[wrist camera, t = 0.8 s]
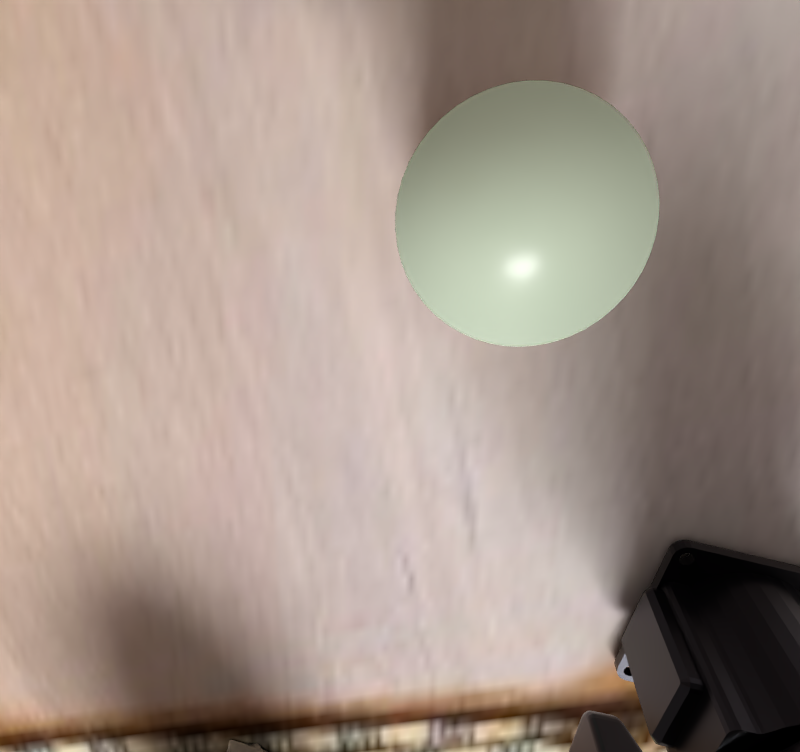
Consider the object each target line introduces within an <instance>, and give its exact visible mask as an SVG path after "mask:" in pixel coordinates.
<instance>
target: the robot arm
mask: <svg viewBox="0 0 800 752" xmlns="http://www.w3.org/2000/svg"><path fill="white" fill-rule="evenodd" d="M685 553H690V554H689V555H688V556H687V557H680V556H681V555H682V554H685ZM621 642H622V646H621V648H620V651H619V653H618V655H617V657H616V659H615V667H616V671H617V674H618V676H619V677H620V678H622V679H624V680H627V681H631V682H634V684H635V687H636V691H637V694H638V697H639V700H640V704H641V707H642V710H643V713H644V717H645V720H646V723H647V726H648V730H649V733H650V735H651V737H652V738H653V740H654V742H655V743H656V744H658V745H662V746H666V748H667V751H668V752H800V567H799V566H795V565H790V564H786V563H782V562H778V561H773V560H769V559H765V558H761V557H756V556H752V555H748V554H744V553H740V552H735V551H731V550H727V549H723V548H718V547H714V546H710V545H706V544H701V543H697V542H693V541H689V540H681V541H677V542H675V543H673V544H672V545H671V546H670V548H669V549H668V551H667V553H666V556H665V558H664V560H663V562H662V564H661V566H660V568H659V570H658V572H657V574H656V576H655V578H654V580H653V582H652V584H651V587H650V588H648V589H647V590H646V591H645V592H644V593H643V595H642V597H641V599H640V601H639V603H638V605H637V607H636V610H635V612H634V614H633V616H632V618H631V620H630V622H629V624H628V626H627V628H626V630H625V632H624V634H623V637H622V639H621ZM628 666H629V667H628ZM569 752H642V750H641V749H640V747H639V746H638V745H637V743H636V742H635V740H634V739H633V737H632V736H631V734H630V733H629V732H628V730H627V729H626V727H625V726H624V724H623V723H622V722H621V721H620V720H619V719H618V718H617V717H615V716H613V715H609V714H604V713H599V712H594V711H587V712H585V713H584V714H583V716H582V718H581V720H580V723H579V726H578V728H577V731H576V734H575V736H574V739H573V742H572V745H571V747H570V750H569Z"/></svg>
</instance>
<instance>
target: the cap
mask: <svg viewBox="0 0 800 752" xmlns="http://www.w3.org/2000/svg"><path fill="white" fill-rule="evenodd" d="M658 220H659V191H658V182H657V178H656V174H655V169H654V165H653V163H652V160H651V158H650V155H649V153H648V150H647V148H646V146H645V145H644V143H643V141H642V139H641V138H640V136H639V134H638V133H637V131H636V130H635V129H634V128H633V126H632V125H631V124H630V123H629V121H628V120H627V119H626V118H625V117H624V116H623V115H622V114H621V113H620V112H619V111H617V110H616V109H615V108H614V107H613V106H612V105H610V104H609V103H607V102H606V101H604V100H603V99H601V98H600V97H598V96H596V95H594V94H592V93H590V92H588V91H586V90H584V89H582V88H578V87H575V86H572V85H568V84H565V83H560V82H553V81H546V80H526V81H519V82H512V83H507V84H503V85H500V86H496V87H493V88H489V89H487V90H485V91H483V92H480V93H478V94H476V95H474V96H472V97H470V98H468V99H467V100H465V101H464V102H462V103H460V104H459V105H457V106H456V107H454V108H453V109H452V110H451V111H449V112H448V113H447V114H446V115H445V116H443V117H442V118H441V119H440V120H439V121H438V122H437V123H436V124H435V125H434V126H433V127H432V128H431V130H430V131H429V132H428V133H427V134H426V136H425V137H424V138H423V140H422V141H421V143H420V144H419V145H418V147H417V149H416V150H415V152H414V154H413V156H412V158H411V159H410V161H409V163H408V166H407V168H406V171H405V173H404V176H403V178H402V182H401V185H400V189H399V193H398V198H397V205H396V213H395V231H396V239H397V247H398V251H399V255H400V259H401V263H402V265H403V268H404V270H405V273H406V275H407V278H408V279H409V281H410V283H411V285H412V287H413V288H414V290H415V292H416V293H417V294H418V296H419V297H420V299H421V300H422V301H423V303H424V304H425V305H426V306H427V307H428V308H429V309H430V310H431V311H432V312H433V313H434V314H435V315H436V316H437V317H438V318H440V319H441V320H442V321H443V322H445V323H446V324H447V325H449V326H450V327H452V328H454V329H455V330H457V331H459V332H460V333H462V334H464V335H467V336H469V337H471V338H474V339H476V340H480V341H483V342H486V343H490V344H495V345H501V346H514V347H525V346H537V345H542V344H547V343H552V342H555V341H558V340H561V339H565V338H568V337H570V336H572V335H574V334H576V333H579V332H581V331H583V330H585V329H586V328H588V327H589V326H591V325H593V324H594V323H596V322H598V321H599V320H600V319H601V318H603V317H604V316H605V315H606V314H608V313H609V312H610V311H611V310H612V309H613V308H614V307H615V306H616V305H617V304H618V303H619V302H620V301H621V300H622V299H623V298H624V297H625V296H626V295H627V293H628V292H629V291H630V289H631V288H632V287H633V286H634V284H635V283H636V281H637V279H638V278H639V276H640V274H641V273H642V271H643V269H644V267H645V265H646V262H647V260H648V258H649V256H650V254H651V250H652V247H653V244H654V241H655V237H656V232H657V226H658Z"/></svg>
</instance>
